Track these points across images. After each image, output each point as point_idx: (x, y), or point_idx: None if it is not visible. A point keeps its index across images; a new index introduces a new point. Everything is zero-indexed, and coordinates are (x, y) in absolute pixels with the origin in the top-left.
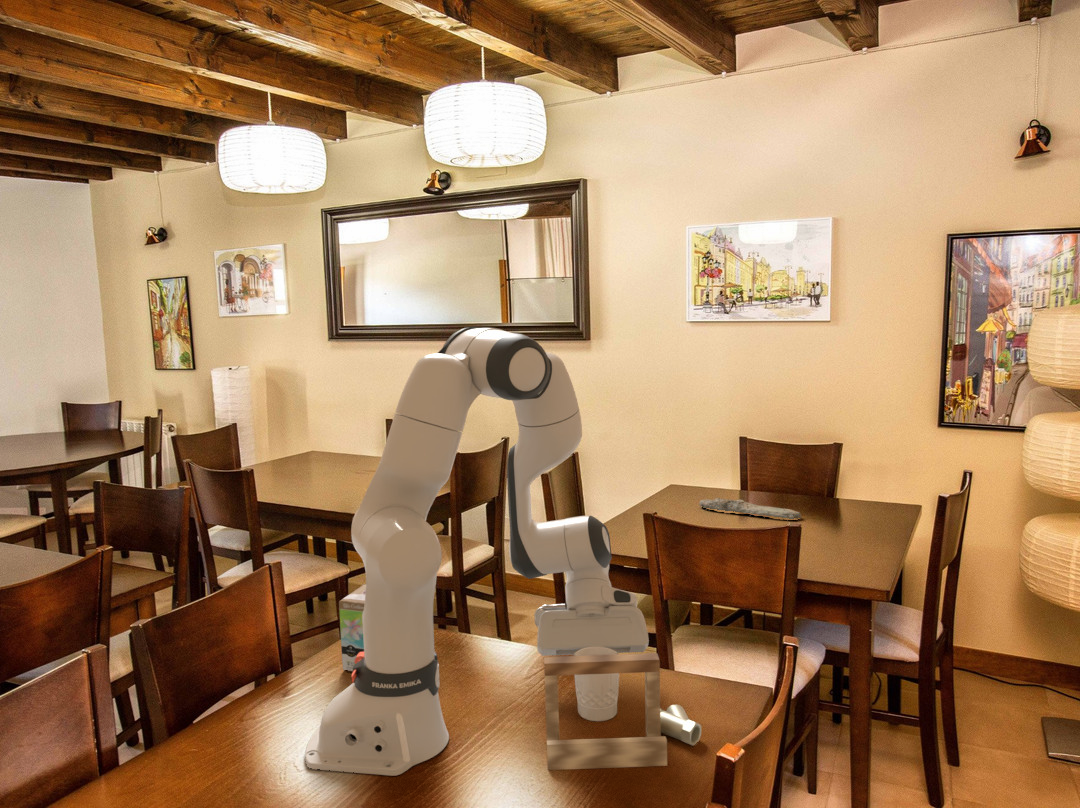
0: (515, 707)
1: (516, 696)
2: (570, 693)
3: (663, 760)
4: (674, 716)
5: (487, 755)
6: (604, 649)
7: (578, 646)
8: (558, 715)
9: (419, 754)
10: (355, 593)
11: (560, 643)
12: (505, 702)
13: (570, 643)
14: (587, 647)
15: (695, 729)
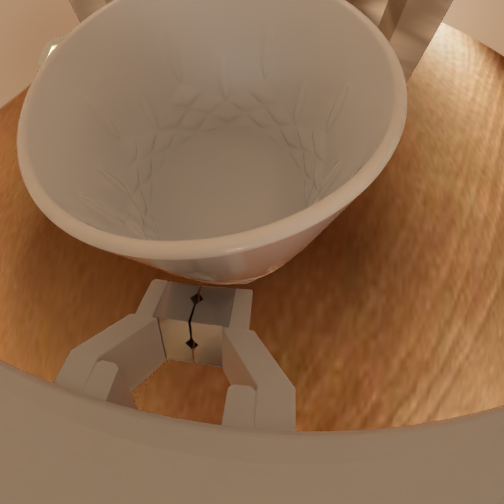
0: (479, 291)
1: (472, 361)
2: (309, 373)
3: None
4: None
5: (484, 103)
6: (64, 210)
7: (311, 438)
8: (384, 11)
9: None
10: None
11: (472, 446)
12: (496, 324)
13: (394, 461)
14: (237, 244)
15: None
